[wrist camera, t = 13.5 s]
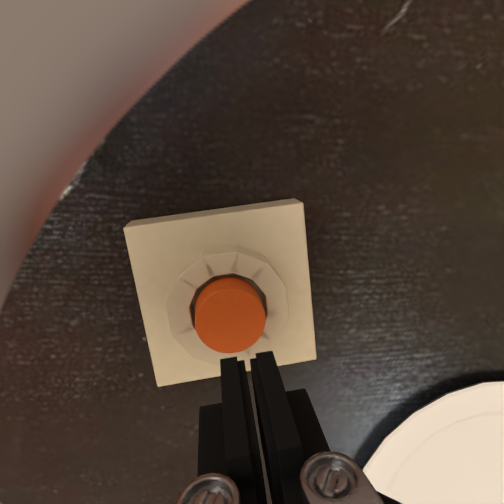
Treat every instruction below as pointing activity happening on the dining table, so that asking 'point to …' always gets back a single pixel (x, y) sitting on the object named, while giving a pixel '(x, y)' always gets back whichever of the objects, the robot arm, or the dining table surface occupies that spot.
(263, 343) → the square push button base
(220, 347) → the button
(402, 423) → the plate
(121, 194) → the dining table surface
